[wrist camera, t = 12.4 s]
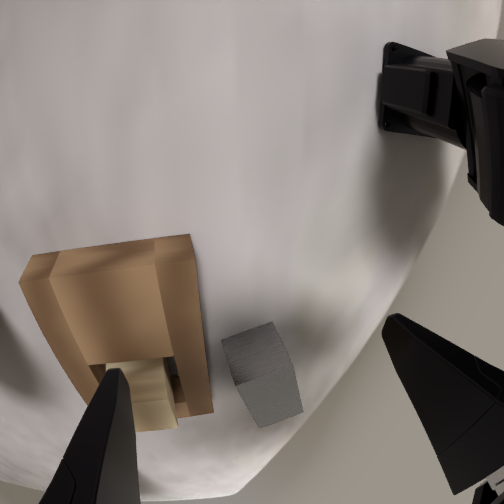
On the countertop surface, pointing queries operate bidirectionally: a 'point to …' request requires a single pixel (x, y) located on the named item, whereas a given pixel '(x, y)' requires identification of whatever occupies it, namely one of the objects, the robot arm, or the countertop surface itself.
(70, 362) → the socket block
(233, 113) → the countertop surface
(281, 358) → the grey rectangular block
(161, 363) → the square bit
